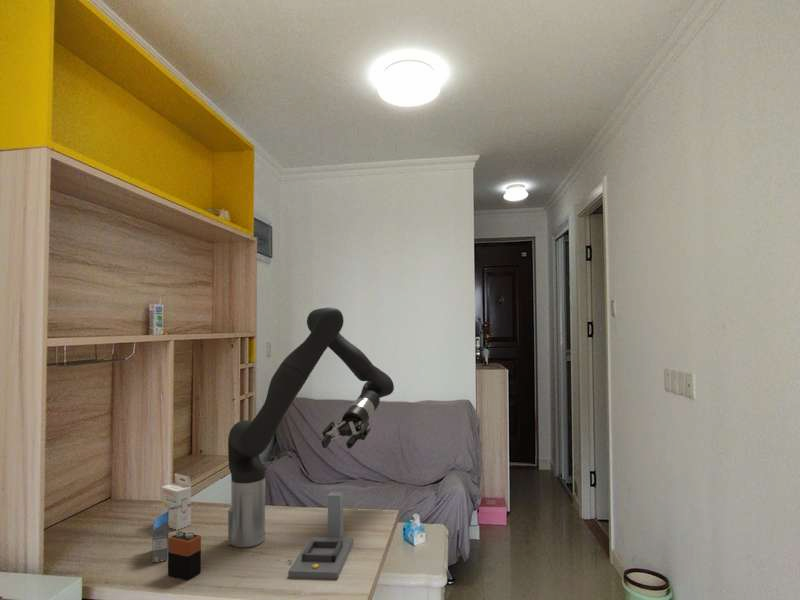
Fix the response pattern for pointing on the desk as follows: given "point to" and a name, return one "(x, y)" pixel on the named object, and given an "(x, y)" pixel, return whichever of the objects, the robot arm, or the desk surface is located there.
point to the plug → (335, 514)
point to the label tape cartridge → (160, 537)
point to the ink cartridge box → (177, 502)
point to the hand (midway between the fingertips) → (335, 445)
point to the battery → (184, 555)
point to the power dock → (321, 558)
